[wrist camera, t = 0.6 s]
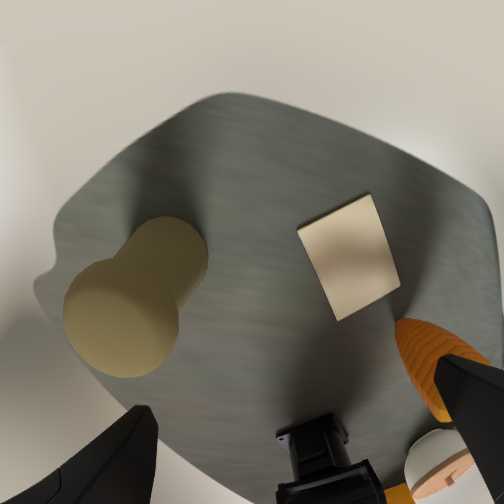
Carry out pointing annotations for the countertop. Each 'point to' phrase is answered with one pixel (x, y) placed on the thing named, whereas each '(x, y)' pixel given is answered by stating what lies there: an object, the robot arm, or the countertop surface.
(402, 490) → the orange juice
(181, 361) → the countertop surface
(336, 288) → the beige rectangular sheet
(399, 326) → the carrot
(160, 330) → the cork
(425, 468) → the lidded jar
